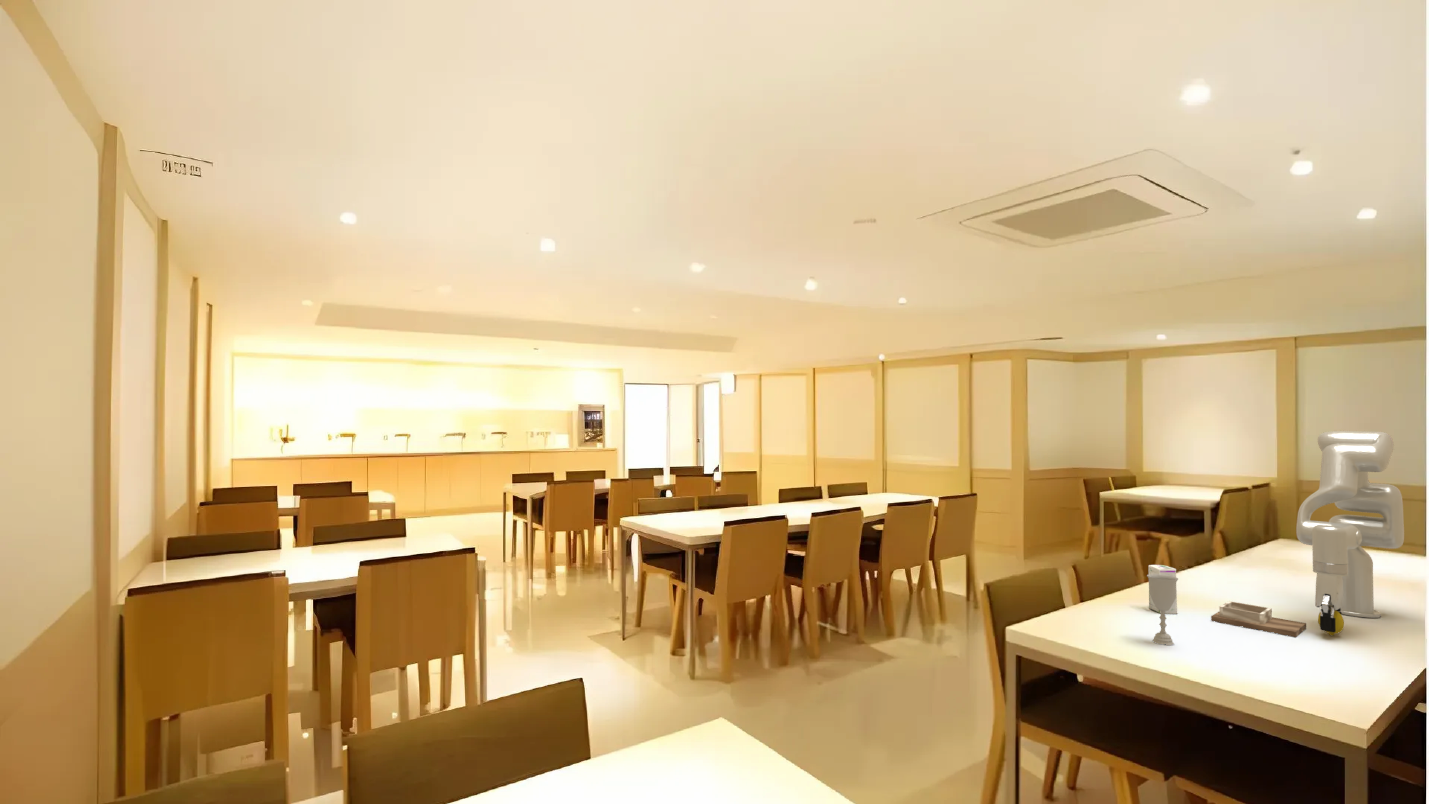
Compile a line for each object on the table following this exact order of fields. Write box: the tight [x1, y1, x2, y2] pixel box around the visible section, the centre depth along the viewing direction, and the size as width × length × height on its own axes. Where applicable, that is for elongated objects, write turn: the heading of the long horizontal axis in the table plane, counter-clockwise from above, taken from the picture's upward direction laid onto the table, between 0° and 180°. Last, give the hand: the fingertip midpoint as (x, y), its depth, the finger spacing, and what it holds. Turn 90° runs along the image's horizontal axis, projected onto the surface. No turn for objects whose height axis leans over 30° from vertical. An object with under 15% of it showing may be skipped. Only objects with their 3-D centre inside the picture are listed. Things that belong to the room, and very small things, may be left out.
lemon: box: [1317, 610, 1345, 636], centre depth 194 cm, size 6×6×8 cm
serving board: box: [1210, 600, 1307, 638], centre depth 204 cm, size 14×20×4 cm
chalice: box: [1146, 573, 1179, 646], centre depth 186 cm, size 7×7×18 cm
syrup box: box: [1148, 564, 1178, 615], centre depth 217 cm, size 6×6×14 cm
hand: (1331, 627), depth 194 cm, fingers open, 9 cm apart
